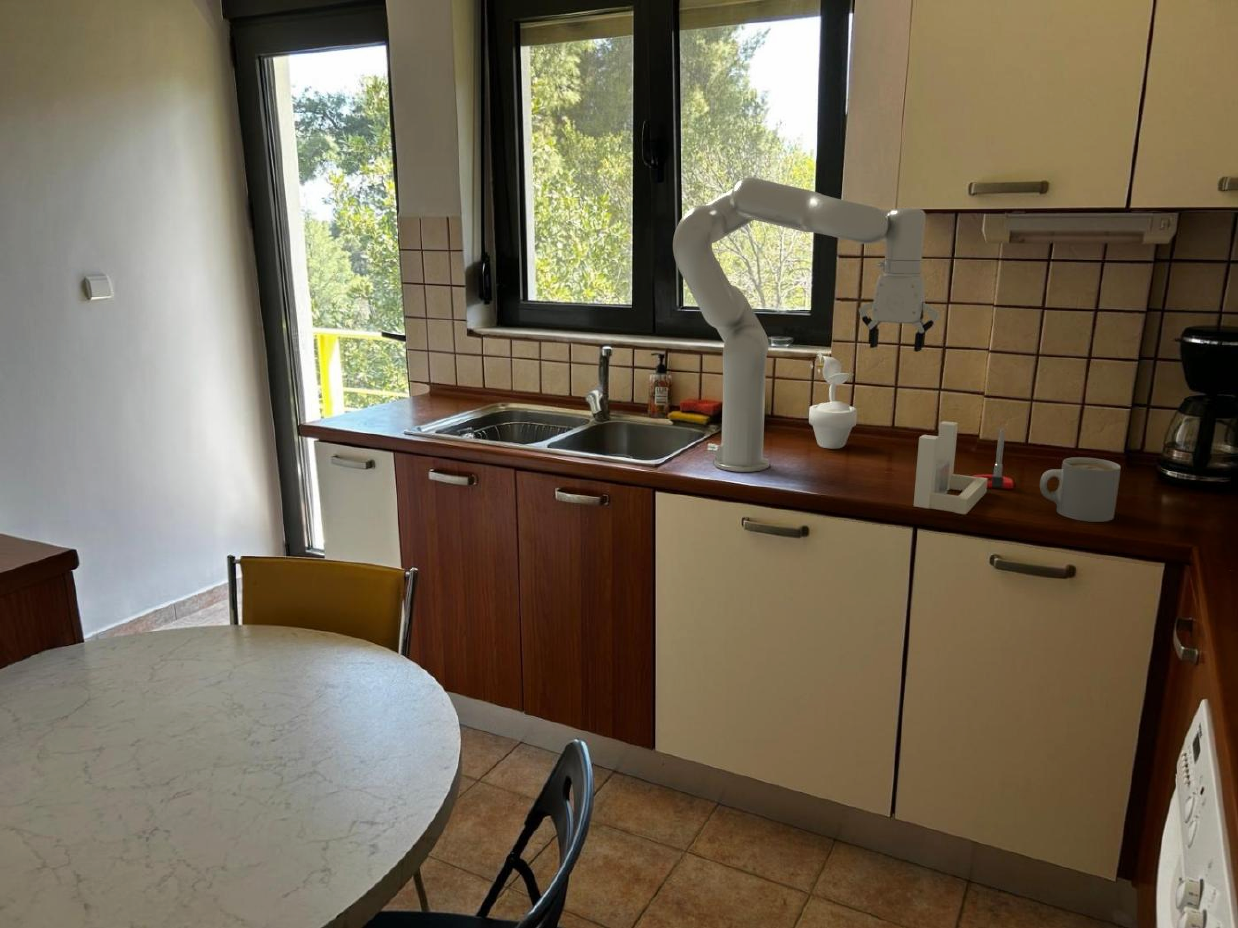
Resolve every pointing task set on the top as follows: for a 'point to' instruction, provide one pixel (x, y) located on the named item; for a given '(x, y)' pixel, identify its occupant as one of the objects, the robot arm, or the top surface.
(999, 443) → the grey red t-shaped piece
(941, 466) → the grey upright block
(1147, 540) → the top surface
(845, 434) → the potted plant
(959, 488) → the white open frame stand
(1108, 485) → the coffee mug
